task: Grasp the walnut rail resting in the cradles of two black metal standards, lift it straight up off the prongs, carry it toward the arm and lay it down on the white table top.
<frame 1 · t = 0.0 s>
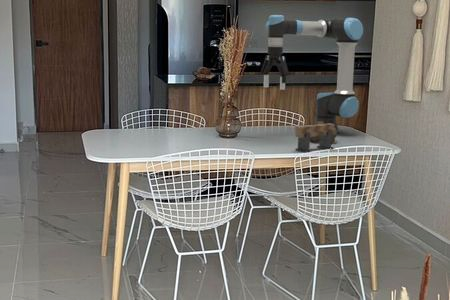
hand: (274, 88, 303), 28 cm above the table, fingers open, 13 cm apart
rail: (315, 135, 290), point 7 cm above the table, touching standards
standards: (314, 149, 291), on the table
decorative stone: (323, 142, 313), on the table
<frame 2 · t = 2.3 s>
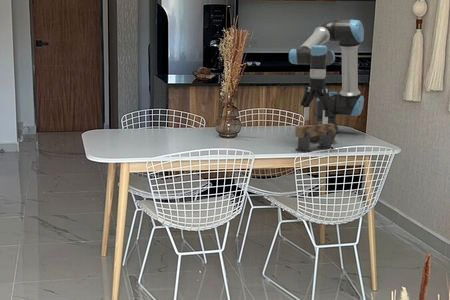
hand: (315, 122, 288), 14 cm above the table, fingers open, 13 cm apart
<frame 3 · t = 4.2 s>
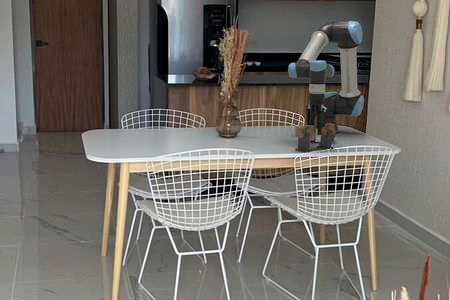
hand: (314, 140, 290), 4 cm above the table, fingers closed on rail, 3 cm apart
rail: (315, 135, 290), point 7 cm above the table, touching gripper, standards
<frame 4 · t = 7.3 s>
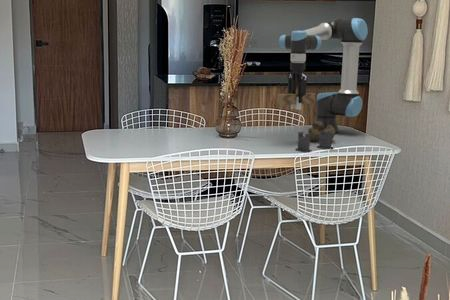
hand: (296, 109, 300), 18 cm above the table, fingers closed on rail, 3 cm apart
rail: (296, 103, 299), point 21 cm above the table, touching gripper
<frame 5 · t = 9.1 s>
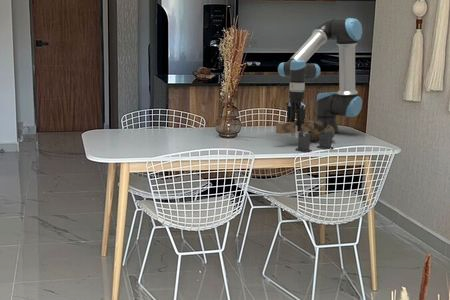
hand: (294, 136, 302), 4 cm above the table, fingers closed on rail, 3 cm apart
rail: (295, 131, 302), point 7 cm above the table, touching gripper
when the fingers open (2 cm above the table, at t = 10.2 s): rail drops 4 cm, on the table.
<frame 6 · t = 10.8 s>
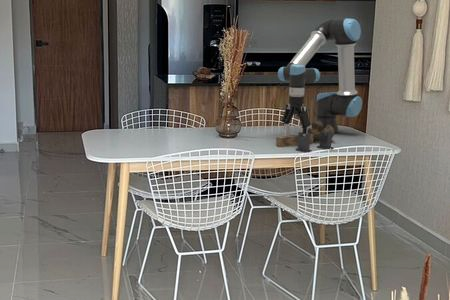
hand: (295, 138, 303), 3 cm above the table, fingers open, 12 cm apart
rail: (294, 145, 303), on the table
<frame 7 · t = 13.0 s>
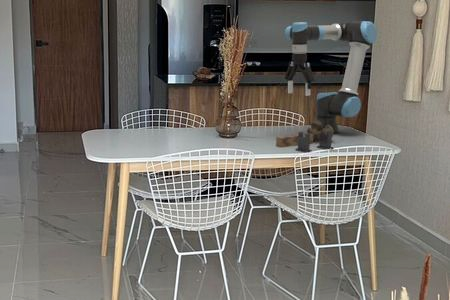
hand: (299, 94, 309), 25 cm above the table, fingers open, 13 cm apart
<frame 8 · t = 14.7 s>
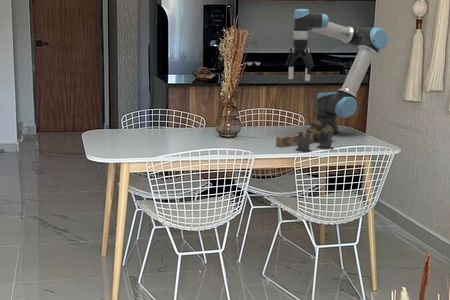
hand: (299, 79, 316), 32 cm above the table, fingers open, 13 cm apart
at the end: rail inside the target area (0.5 cm from its centre), on the table; rail touching table; the gripper is holding nothing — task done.
